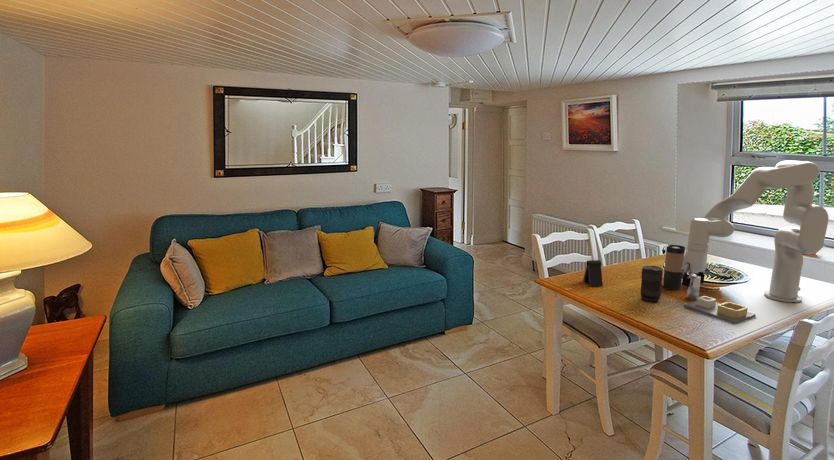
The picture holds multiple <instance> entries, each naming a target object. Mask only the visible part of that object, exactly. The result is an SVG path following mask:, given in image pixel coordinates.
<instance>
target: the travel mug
mask: <svg viewBox="0 0 834 460" xmlns="http://www.w3.org/2000/svg"><path fill="white" fill-rule="evenodd" d="M685 253H686V247H685V246H683V245H678V244H669V245H668V246H666V251H665V260H664V269H663V284H662V287H663V288H664V289H666V290H675V291H678V290H681V287H682V279H683V277H682V271H681V268H682V267H683V261H684V257H685Z"/></svg>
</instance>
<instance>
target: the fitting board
mask: <svg viewBox="0 0 834 460" xmlns="http://www.w3.org/2000/svg"><path fill="white" fill-rule="evenodd" d="M683 308H686V309H688V310H691V311H694V312H696V313H699V314H703V315H706V316H709V317H712V318H714V319H718V320H721V321H722V322H723V321H724V322H725V323H726V322H727V323H730V324H732V325H736V324H740V323H743V322H746V321H748V320H752V319H754V318H756V317H757V316H756V315H757V314H756V313H752V312H749V311H748V307H747V306H745V305H741V304H738V303H734V302H731V301H725V302H722V303H720V302H717V298H714V297H711V296H710V297H709V296H707V295H703V296H698V298H697V299H696V300H695V301H694V300H693V301H691V302H688V303H687V302H686V303H683ZM745 320H746V321H745Z"/></svg>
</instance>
